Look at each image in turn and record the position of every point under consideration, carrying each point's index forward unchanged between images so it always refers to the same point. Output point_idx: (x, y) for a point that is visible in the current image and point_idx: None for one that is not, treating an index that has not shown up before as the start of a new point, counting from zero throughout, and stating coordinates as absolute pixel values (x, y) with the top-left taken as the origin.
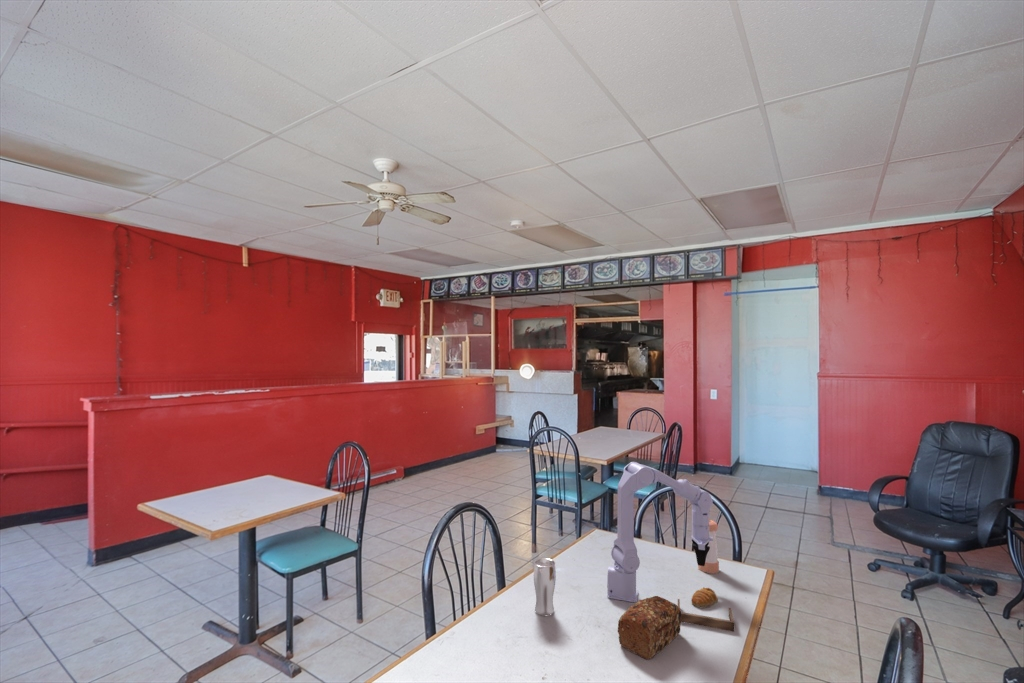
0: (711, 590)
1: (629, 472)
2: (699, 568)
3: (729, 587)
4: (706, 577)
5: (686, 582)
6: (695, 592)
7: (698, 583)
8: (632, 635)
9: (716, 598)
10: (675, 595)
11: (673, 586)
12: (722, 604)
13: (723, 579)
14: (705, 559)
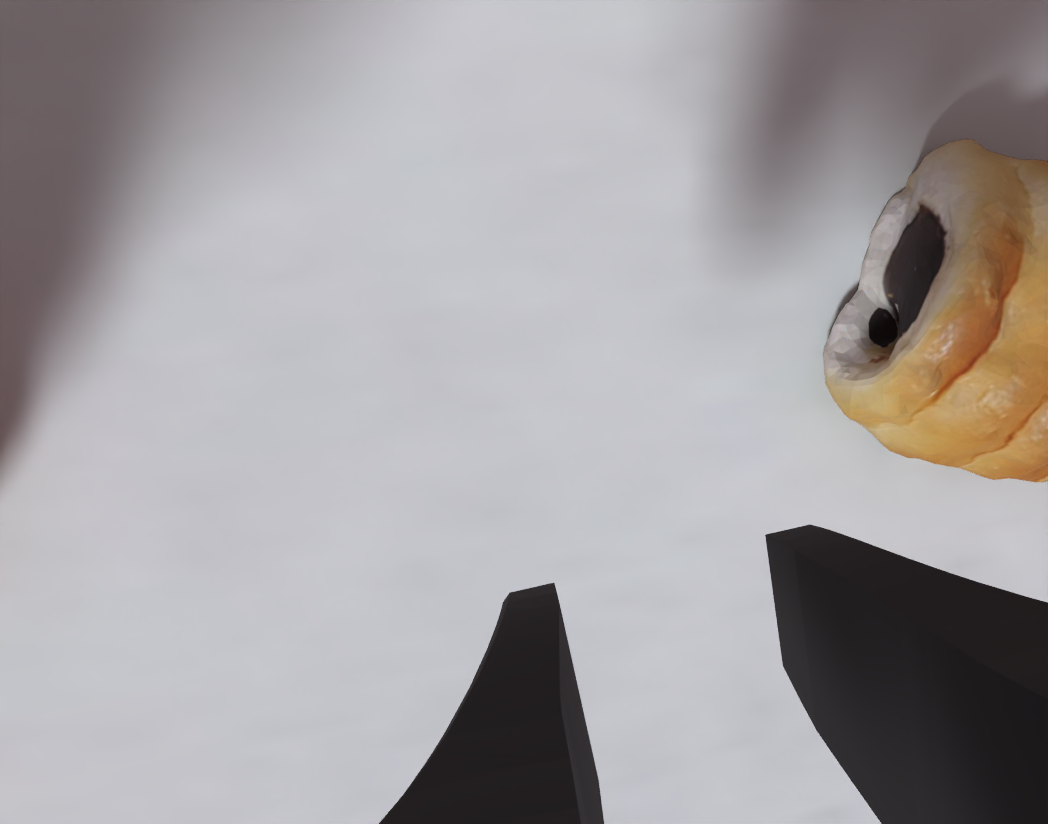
0: (1001, 250)
1: None
2: None
3: (302, 39)
4: (154, 429)
5: None
6: (1046, 465)
7: (451, 492)
8: None
9: (1012, 161)
10: None
11: (726, 733)
12: (964, 78)
13: (37, 172)
14: (957, 577)
